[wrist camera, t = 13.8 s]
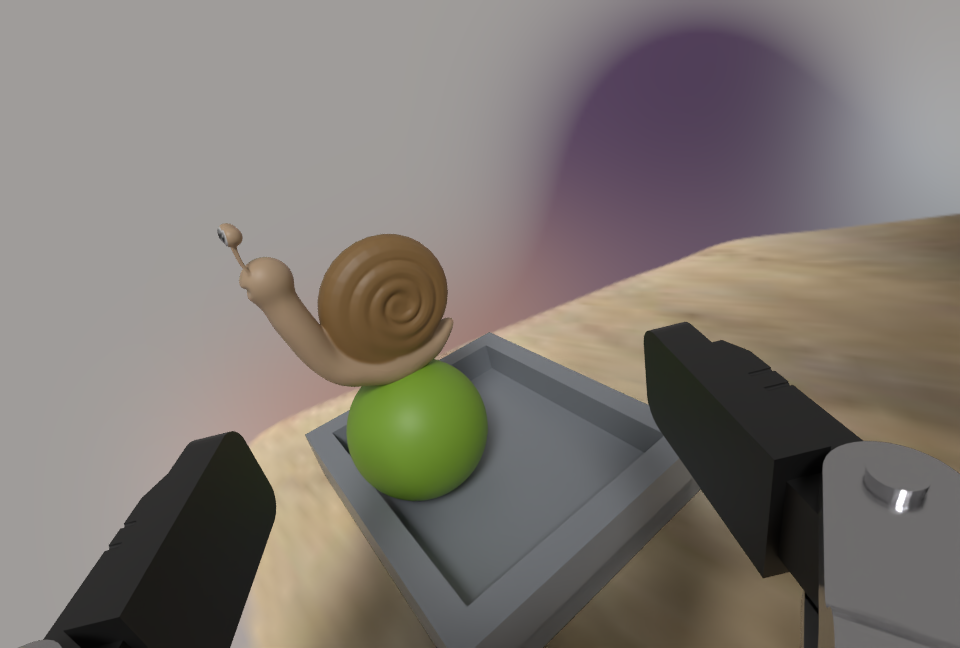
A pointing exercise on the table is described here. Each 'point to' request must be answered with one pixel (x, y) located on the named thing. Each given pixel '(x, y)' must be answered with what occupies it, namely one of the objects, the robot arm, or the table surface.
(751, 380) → the robot arm
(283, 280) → the snail figurine
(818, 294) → the table surface
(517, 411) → the tray
